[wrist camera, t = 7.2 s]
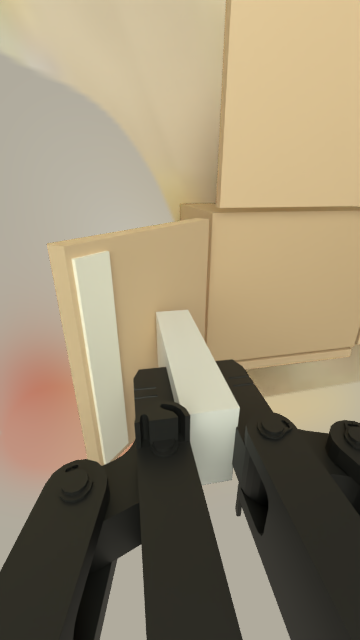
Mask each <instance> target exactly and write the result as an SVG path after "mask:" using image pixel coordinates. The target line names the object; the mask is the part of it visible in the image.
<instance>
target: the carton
mask: <svg viewBox="0 0 360 640" xmlns="http://www.w3.org/2000/svg"><path fill="white" fill-rule="evenodd" d="M357 206H360V0H226V12H225V32H224V53H223V73H222V93H221V113H220V134H219V154H218V174H217V194H216V203H203V204H180V221H182V220H188V219H194V218H202V219H209V237H208V261H207V286H206V310H205V334H204V341H205V343H206V345H207V346H208V348H209V350H210V352H211V354H212V356H213V358H214V360H215V361H220V360H230V359H233V360H234V361H236V362H237V363H238V364H240V365H241V366H243V368H244V369H245V370H247V369H255V368H263V367H271V366H279V365H287V364H295V363H304V362H312V361H320V360H328V359H336V358H344V357H350V355H351V351H352V349H351V348H350V347H354V345H355V344H357V345H359V344H360V207H357Z"/></svg>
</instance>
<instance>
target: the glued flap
mask: <svg viewBox="0 0 360 640" xmlns="http://www.w3.org/2000/svg"><path fill="white" fill-rule="evenodd" d="M208 237H209V219H202V218H194V219H188V220H182V221H176V222H170V223H165V224H159V225H153V226H147V227H141V228H135V229H129V230H124V231H118V232H112V233H106V234H100V235H95V236H89V237H83V238H77V239H71V240H65V241H60V242H53V243H48V244H47V248H48V253H49V258H50V263H51V269H52V274H53V279H54V285H55V290H56V295H57V301H58V306H59V311H60V316H61V322H62V327H63V332H64V337H65V343H66V347H67V353H68V358H69V364H70V369H71V374H72V380H73V385H74V390H75V396H76V401H77V406H78V411H79V417H80V422H81V427H82V432H83V438H84V443H85V448H86V453H87V459H88V460H92V461H96V462H98V463H99V464H100V465H101V466H103V465H105V464H107V463H109V462H112V461H114V460H115V459H116V458H117V457H118V456H119V455H120V454H121V453H122V452H123V451H124V450H125V449H126V448H127V447H128V446H129V445H130V444H131V443H132V442H133V441H134V440H135V427H134V421H135V402H134V383H133V378H134V377H135V375H136V373H137V372H138V370H139V369H150V368H159V367H158V357H157V330H156V312H161V311H175V310H189V312H190V314H191V316H192V318H193V320H194V322H195V324H196V326H197V327H198V329H199V331H200V333H201V335H202V337H203V339H204V334H205V310H206V286H207V261H208Z"/></svg>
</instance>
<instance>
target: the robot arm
mask: <svg viewBox="0 0 360 640" xmlns="http://www.w3.org/2000/svg"><path fill="white" fill-rule="evenodd" d="M156 330H157V357H158V367H159V368H150V369H139V370H138V372H137V373H136V375H135V377H134V378H133V383H134V402H135V421H134V427H135V441H134V443H133V445H132V446H131V448H130V449H129V450H128V451H127V452H126V453H125V454H124V455H123V456H121V457H119V458H117V459H116V460H114V461H112V462H109V463H107V464H105V465H103V466H101V465H100V464H99V463H98V462H96V461H92V460H88V459H84V460H76V461H73V462H70V463H68V464H66V465H63V466H62V467H61V468H60V469H58V470H57V471H56V472H54V473H53V474H52V476H51V477H50V479H49V480H48V481H47V483H46V484H45V486H44V488H43V490H42V492H41V494H40V496H39V498H38V500H37V501H36V504H35V505H34V507H33V509H32V511H31V513H30V515H29V517H28V519H27V521H26V523H25V525H24V527H23V528H22V530H21V533H20V534H19V536H18V538H17V540H16V542H15V544H14V546H13V548H12V550H11V552H10V554H9V556H8V558H7V560H6V562H5V563H4V565H3V567H2V569H1V571H0V640H100V635H101V631H102V626H103V622H104V617H105V612H106V608H107V603H108V599H109V594H110V590H111V584H112V580H113V576H114V571H115V567H116V563H117V559H118V558H119V557H121V556H123V555H124V554H126V553H127V552H129V551H131V550H132V549H134V548H136V547H137V546H139V545H141V544H142V560H143V579H144V597H145V614H146V615H145V617H146V635H147V640H242V636H241V632H240V628H239V624H238V621H237V617H236V613H235V609H234V606H233V602H232V598H231V594H230V591H229V587H228V583H227V579H226V575H225V572H224V569H223V564H222V561H221V557H220V553H219V549H218V545H217V541H216V538H215V534H214V530H213V526H212V523H211V519H210V516H209V511H208V508H207V504H206V500H205V496H204V493H203V489H202V485H206V484H211V483H217V482H223V481H229V480H232V473H233V468H234V470H235V472H236V476H237V478H238V481H239V484H238V492H237V500H236V515H237V516H240V515H241V508H242V509H243V511H244V514H245V517H246V519H247V522H248V525H249V528H250V530H251V533H252V535H253V538H254V541H255V544H256V547H257V549H258V552H259V555H260V557H261V560H262V563H263V565H264V568H265V571H266V574H267V576H268V579H269V582H270V585H271V587H272V590H273V593H274V595H275V598H276V601H277V604H278V606H279V609H280V612H281V614H282V617H283V620H284V622H285V625H286V628H287V631H288V633H289V636H290V639H291V640H360V423H358V422H355V421H347V420H343V421H338V422H336V423H334V424H333V425H332V426H331V429H330V432H329V434H328V433H320V432H312V431H305V430H300V429H297V428H296V426H295V425H294V424H293V423H292V422H291V421H290V420H289V419H287V418H286V417H284V416H282V415H280V414H277V413H273V411H272V410H271V408H270V407H269V405H268V404H267V402H266V401H265V399H264V398H263V396H262V395H261V393H260V392H259V390H258V389H257V387H256V386H255V385H254V383H253V381H252V380H251V378H250V377H249V375H248V374H247V372H246V371H245V369H244V368H243V366H241V365H240V364H238V363H237V362H236V361H234V360H233V359H230V360H220V361H215V360H214V358H213V356H212V354H211V352H210V350H209V348H208V346H207V345H206V343H205V341H204V339H203V337H202V335H201V333H200V331H199V329H198V327H197V326H196V324H195V322H194V320H193V318H192V316H191V314H190V312H189V310H175V311H161V312H156Z"/></svg>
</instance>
